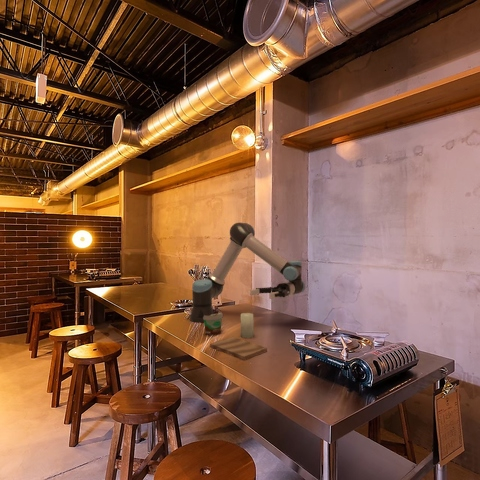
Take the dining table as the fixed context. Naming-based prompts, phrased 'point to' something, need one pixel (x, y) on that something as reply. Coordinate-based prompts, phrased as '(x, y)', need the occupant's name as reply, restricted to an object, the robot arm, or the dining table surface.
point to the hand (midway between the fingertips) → (259, 294)
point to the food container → (213, 323)
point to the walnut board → (238, 348)
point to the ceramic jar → (247, 325)
